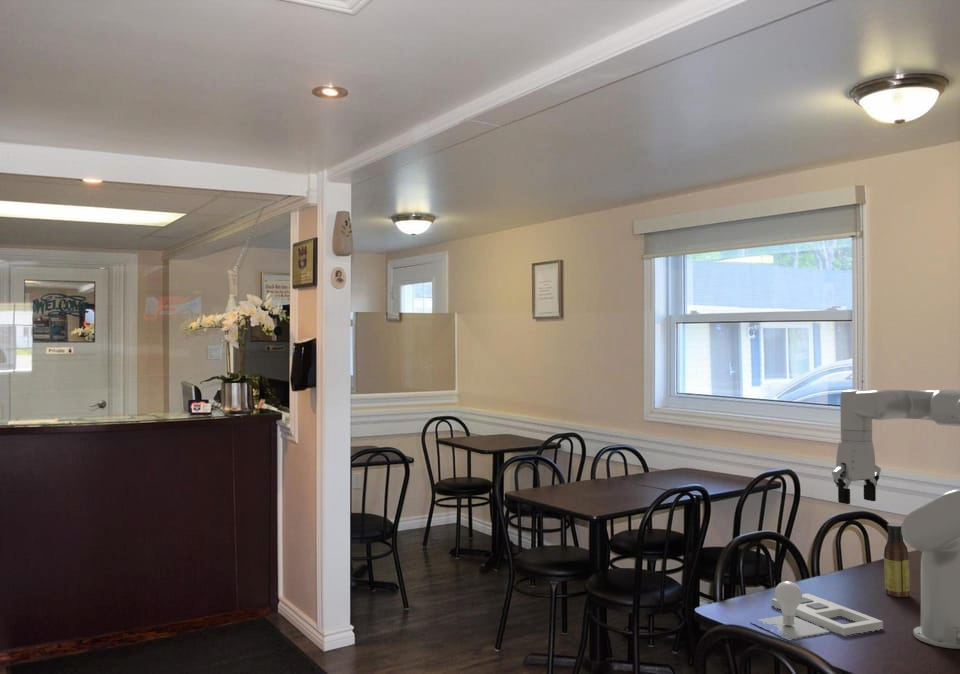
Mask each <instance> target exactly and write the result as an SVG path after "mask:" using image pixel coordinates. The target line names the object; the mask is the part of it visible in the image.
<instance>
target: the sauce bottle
mask: <svg viewBox="0 0 960 674" xmlns="http://www.w3.org/2000/svg"><path fill="white" fill-rule="evenodd" d="M901 527H902V524H900V523H894V522H893V523H892V522H891V523H890V522H889V523H887V524H886V529H887V541H886V544H885V545H884V550H883V552H884V553H883V561H884V562H883V563H884V565H883V566H884V567H883V568H884V569H883V570H884V588H885V593H886V594H887V595H889V596H890V597H894V598H908V597H909V596H910V594H911V593H910V591H911V584H910V560H909V551H908V546H907V544H905V543H906V542H904V538H903V536H902V531H901Z"/></svg>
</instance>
